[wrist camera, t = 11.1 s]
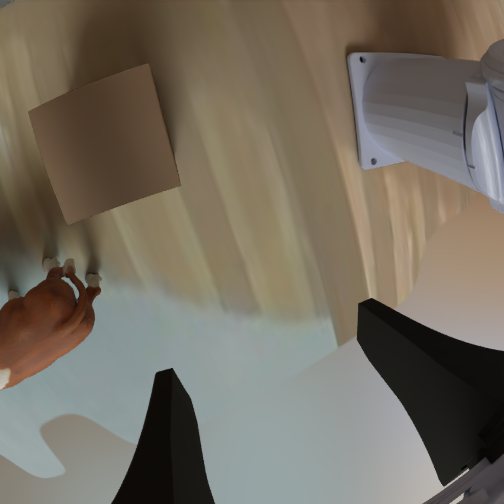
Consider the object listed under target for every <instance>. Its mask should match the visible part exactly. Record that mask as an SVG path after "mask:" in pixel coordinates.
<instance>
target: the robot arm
mask: <svg viewBox="0 0 504 504" xmlns="http://www.w3.org/2000/svg"><path fill="white" fill-rule="evenodd" d="M360 56H361V57H362V59H363V62H362V63H361V62H360ZM347 63H348V69H349V76H350V83H351V90H352V97H353V105H354V113H355V122H356V131H357V142H358V153H359V164H360V166H361V167H362V168H364V169H367V170H368V169H372V168H377V167H381V166H386V165H390V164H395V163H399V162H404V161H408V162H411V163H413V164H416V165H418V166H421V167H423V168H426V169H428V170H431V171H433V172H436V173H438V174H440V175H443V176H445V177H447V178H450V179H452V180H454V181H456V182H459V183H461V184H463V185H465V186H467V187H469V188H471V189H474V190H476V191H478V192H480V193H482V194H484V195H486V196H487V197H488V198H489V200H490V203H491V207H492V208H493V209H495V210H497V211H499V212H501V213H503V214H504V39H502V40H499V41H497V42H495V43H493V44H492V45H491V46H490V47H489V48H488V50H487V52H486V53H485V54H484V55H483V56H482V58H481V60H480V61H474V60H461V59H445V58H444V57H442V56H433V55H422V54H408V53H384V52H354V53H350V54H349V55H348V56H347ZM372 158H373V159H374V160H373V163H371V160H372ZM357 341H358V343H359V344H360V346H361V348H362V350H363V351H364V353H365V355H366V356H367V358H368V360H369V361H370V362H371V364H372V365H373V366H374V368H375V369H376V370H377V371H378V373H379V374H380V375H381V377H382V378H383V379H384V381H385V382H386V383H387V385H388V386H389V387H390V388H391V390H392V391H393V392H394V394H395V395H396V396H397V397H398V399H399V400H400V401H401V403H402V405H403V406H404V408H405V410H406V411H407V413H408V415H409V416H410V418H411V420H412V421H413V424H414V425H415V427H416V429H417V431H418V433H419V435H420V437H421V439H422V441H423V443H424V445H425V447H426V449H427V451H428V453H429V456H430V458H431V460H432V463H433V465H434V468H435V470H436V473H437V475H438V478H439V480H440V482H441V484H442V485H443V486H446V485H447V484H448V483H450V482H451V481H453V480H454V479H455V478H457V477H458V476H459V475H461V474H462V473H463V472H464V471H466V470H467V469H468V468H469V471H468V472H467V473H466V474H464V475H463V476H462V477H460V478H459V479H458V480H456V481H455V482H454V483H452V484H451V485H450V486H448V487H447V488H445V489H444V490H443V491H441V492H440V493H438V494H437V495H435V496H434V497H432V498H431V499H429V500H428V501H426V502H425V503H423V504H449V503H450V502H452V501H453V500H455V499H456V498H457V497H459V496H460V495H461V494H463V493H464V492H465V493H464V498H463V500H461V501H460V502H458V503H457V504H504V351H500V350H495V349H489V348H485V347H481V346H477V345H473V344H470V343H467V342H464V341H461V340H458V339H455V338H452V337H450V336H447V335H444V334H442V333H440V332H437V331H435V330H433V329H430V328H428V327H426V326H424V325H422V324H420V323H418V322H416V321H414V320H412V319H410V318H408V317H406V316H405V315H403V314H401V313H399V312H397V311H395V310H393V309H392V308H390V307H388V306H386V305H384V304H382V303H380V302H379V301H377V300H375V299H373V298H370V299H368V300H365V301H363V302H361V303H358V327H357ZM111 504H215V502H214V499H213V496H212V493H211V490H210V487H209V484H208V480H207V476H206V472H205V466H204V460H203V454H202V448H201V443H200V436H199V429H198V423H197V419H196V416H195V412H194V408H193V405H192V401H191V398H190V396H189V395H188V393H187V392H186V390H185V388H184V387H183V385H182V383H181V382H180V380H179V378H178V377H177V375H176V373H175V371H174V370H173V368H170V369H167V370H163V371H159V372H157V373H156V374H155V378H154V383H153V388H152V393H151V398H150V402H149V406H148V410H147V414H146V418H145V422H144V425H143V429H142V432H141V435H140V438H139V442H138V445H137V448H136V451H135V454H134V456H133V459H132V461H131V464H130V467H129V469H128V471H127V474H126V476H125V478H124V480H123V483H122V484H121V487H120V489H119V491H118V493H117V494H116V496H115V498H114V500H113V501H112V503H111Z"/></svg>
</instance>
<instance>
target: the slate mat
mask: <svg viewBox="0 0 504 504" xmlns="http://www.w3.org/2000/svg"><path fill="white" fill-rule="evenodd" d="M12 1H14V0H0V8H2V7H3V6H5V5H7V4H8V3H10V2H12Z"/></svg>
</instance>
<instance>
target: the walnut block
mask: <svg viewBox="0 0 504 504" xmlns="http://www.w3.org/2000/svg"><path fill="white" fill-rule="evenodd" d="M28 113H29V117H30V120H31V124H32V127H33V131H34V134H35V138H36V141H37V144H38V147H39V150H40V153H41V157H42V160H43V162H44V165H45V168H46V171H47V174H48V177H49V180H50V182H51V185H52V188H53V190H54V193H55V195H56V198H57V201H58V203H59V206H60V208H61V211H62V213H63V215H64V218H65V220H66V222H67V225H70V224H73V223H75V222H78V221H80V220H83V219H85V218H88V217H91V216H93V215H96V214H99V213H102V212H104V211H107V210H110V209H113V208H115V207H118V206H121V205H124V204H127V203H130V202H132V201H135V200H138V199H141V198H144V197H147V196H150V195H153V194H156V193H159V192H163V191H166V190H169V189H172V188H175V187H178V186H181V183H180V178H179V174H178V170H177V165H176V161H175V157H174V153H173V149H172V146H171V142H170V138H169V135H168V131H167V127H166V123H165V120H164V116H163V112H162V108H161V104H160V100H159V96H158V92H157V88H156V84H155V80H154V76H153V73H152V70H151V67H150V65H149V63H147V64H143V65H140V66H137V67H134V68H131V69H128V70H125V71H122V72H119V73H116V74H113V75H110V76H108V77H105V78H102V79H100V80H97V81H94V82H92V83H89V84H87V85H84V86H82V87H80V88H77V89H75V90H72V91H70V92H68V93H66V94H63V95H61V96H59V97H57V98H55V99H53V100H50V101H48V102H46V103H44V104H42V105H40V106H38V107H36V108H34V109H32V110H30V111H28Z"/></svg>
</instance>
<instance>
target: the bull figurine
mask: <svg viewBox="0 0 504 504" xmlns="http://www.w3.org/2000/svg"><path fill="white" fill-rule="evenodd" d="M42 265H43V268H44V271H46V272H47V273H48V275H47V278H46V280H44V281H42V282H41V283H39V284H38V285H37V286H36V287H34V288H32V289H31V290H29V291H28V292H27V294H26V295H25V297H19V296H18V293H17V292H15V291H13V290H10V291H9V292H8V297H9V300H8V302H7V303H6V304H5V305H4V306H3V307H2V309H1V310H0V390H2V389H5V388H9V387H12V386H15V385H16V384H18V383H20V382H21V381H23V380H24V379H26V378H28V377H30V376H33V375H35V374H36V373H38V372H40V371H42V370H43V369H45V368H47V367H48V366H50V365H51V364H52V363H53V362H54V361H55V360H56V359H57V358H59V357H61V356H63V355H65V354H66V353H68V352H69V351H71V350H72V349H74V348H75V347H77V346H78V345H79V344H80V343H81V342H82V341H83V340H84V339H85V338H86V337H87V336H88V335H89V334H90V332H91V331H92V328H93V325H94V321H95V314H94V310H93V307H92V302H93V300H94V298H95V297H96V296H98V295H99V294H100V292H101V289H100V287H99V284H100V282H101V281H102V278H101V277H100V276H99V275H97V274H96V275H94V274H91V273H90V274H88V275H86V277H85V280H86V283H87V284H88V287H87V288H86V289H85V286H84V285H83V283H82V282H81V281H80V280H79V279H78V278H77V277H76V276H75V272H76V269H75V266H74V260H73V259H67V260H66V261H65V263H64V266H63V267H59V266H60V262H59V261H58V260H57V258H56V257H54V258H53V259H52V260H51V259H50V258H46V259H44V261H43V263H42ZM64 276H65V277H66V278H70V280H71V282H72V283H73V284H75V286H76V287H77V289H78V291H79V298H78V299H76V297H75V293H74V290H73V288H72V287H71V286H70V285H69V284H68V283H66V282H65V281H64V280H62V279H61V278H62V277H64Z"/></svg>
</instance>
